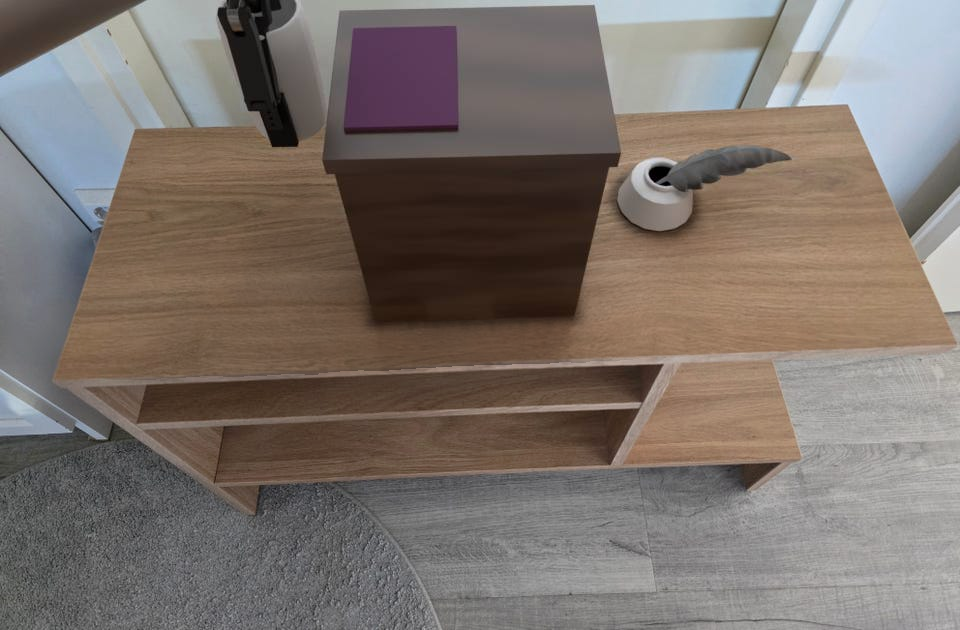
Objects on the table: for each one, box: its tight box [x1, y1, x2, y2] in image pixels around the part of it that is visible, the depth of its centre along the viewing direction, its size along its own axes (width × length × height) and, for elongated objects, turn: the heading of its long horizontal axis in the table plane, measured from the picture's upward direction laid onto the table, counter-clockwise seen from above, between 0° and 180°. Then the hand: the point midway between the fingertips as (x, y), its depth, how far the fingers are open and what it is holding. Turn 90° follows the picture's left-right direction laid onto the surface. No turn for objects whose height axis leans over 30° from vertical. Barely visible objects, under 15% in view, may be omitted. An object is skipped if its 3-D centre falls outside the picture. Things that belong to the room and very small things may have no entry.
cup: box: [215, 0, 328, 142], centre depth 69 cm, size 8×8×14 cm
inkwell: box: [616, 144, 793, 232], centre depth 79 cm, size 9×18×10 cm, turn 90°
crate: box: [321, 4, 622, 323], centre depth 68 cm, size 18×23×26 cm
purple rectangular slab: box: [343, 26, 458, 131], centre depth 56 cm, size 12×9×1 cm
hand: (290, 113), depth 74 cm, fingers closed on cup, 8 cm apart
